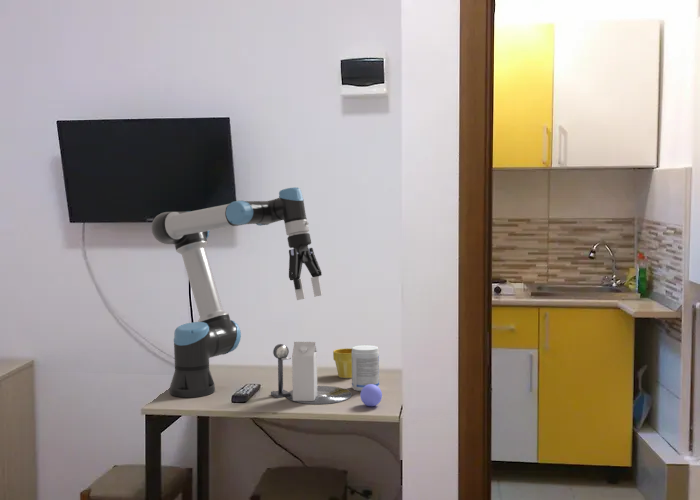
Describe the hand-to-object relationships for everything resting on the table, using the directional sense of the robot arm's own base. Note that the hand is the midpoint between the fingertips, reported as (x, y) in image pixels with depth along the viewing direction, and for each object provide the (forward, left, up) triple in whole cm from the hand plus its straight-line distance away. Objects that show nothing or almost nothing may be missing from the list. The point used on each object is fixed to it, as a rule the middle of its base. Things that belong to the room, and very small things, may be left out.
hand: (310, 297), depth 238 cm
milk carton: (-2, 0, -34) cm, 34 cm away
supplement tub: (+23, +2, -34) cm, 41 cm away
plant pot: (+27, +21, -34) cm, 48 cm away
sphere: (+13, -17, -34) cm, 40 cm away
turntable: (+5, +3, -34) cm, 34 cm away
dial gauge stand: (-6, +10, -34) cm, 36 cm away
